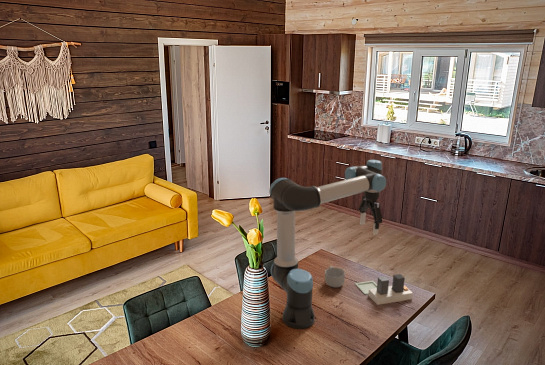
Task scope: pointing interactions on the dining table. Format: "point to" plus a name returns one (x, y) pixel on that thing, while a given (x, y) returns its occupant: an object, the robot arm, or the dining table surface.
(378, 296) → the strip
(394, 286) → the plug
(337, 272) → the teacup
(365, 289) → the tray
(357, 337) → the dining table surface
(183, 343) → the dining table surface
